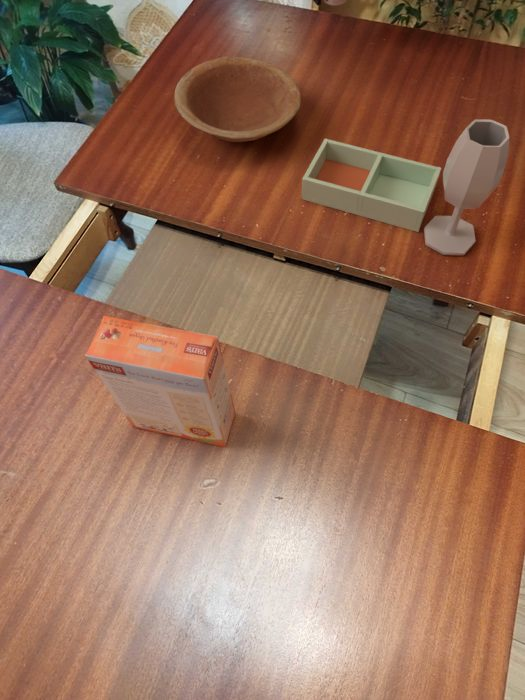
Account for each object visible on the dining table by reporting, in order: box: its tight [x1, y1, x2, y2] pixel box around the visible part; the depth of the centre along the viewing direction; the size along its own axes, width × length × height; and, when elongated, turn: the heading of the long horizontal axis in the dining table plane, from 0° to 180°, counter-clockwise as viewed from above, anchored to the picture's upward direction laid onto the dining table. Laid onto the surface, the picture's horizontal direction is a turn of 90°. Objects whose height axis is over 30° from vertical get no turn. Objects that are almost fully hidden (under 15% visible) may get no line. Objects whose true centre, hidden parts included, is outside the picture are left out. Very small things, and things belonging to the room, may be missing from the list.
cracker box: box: [85, 315, 236, 448], centre depth 68 cm, size 14×6×21 cm, turn 76°
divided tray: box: [301, 138, 442, 233], centre depth 95 cm, size 21×11×5 cm, turn 66°
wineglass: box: [423, 119, 510, 256], centre depth 83 cm, size 9×9×21 cm
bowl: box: [173, 55, 302, 143], centre depth 105 cm, size 24×24×8 cm
